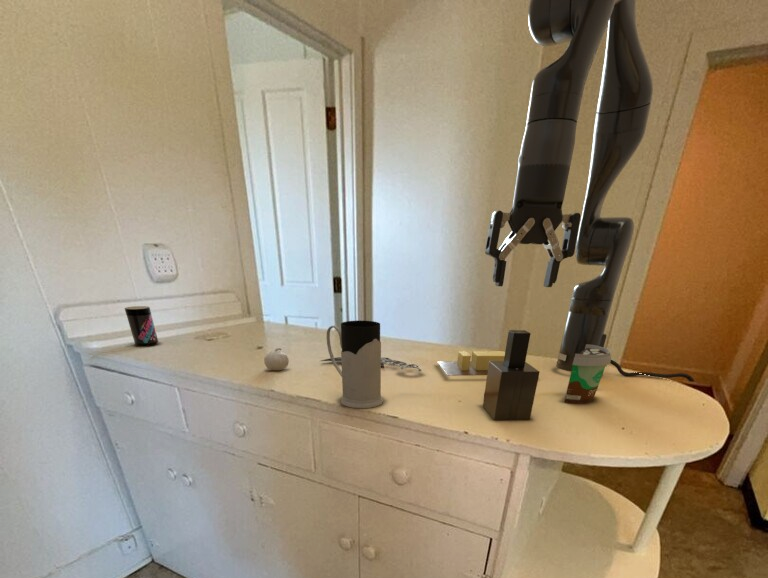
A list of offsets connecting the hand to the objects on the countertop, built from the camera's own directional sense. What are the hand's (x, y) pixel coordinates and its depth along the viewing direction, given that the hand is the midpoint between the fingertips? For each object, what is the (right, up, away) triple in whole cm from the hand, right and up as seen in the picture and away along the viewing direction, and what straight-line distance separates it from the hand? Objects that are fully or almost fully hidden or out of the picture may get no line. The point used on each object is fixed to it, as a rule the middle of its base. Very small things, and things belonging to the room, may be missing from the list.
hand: (523, 286), depth 72 cm
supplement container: (-97, +13, +59) cm, 115 cm away
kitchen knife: (0, -19, +11) cm, 22 cm away
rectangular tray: (+2, -3, +37) cm, 37 cm away
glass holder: (-30, -14, +18) cm, 38 cm away
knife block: (0, -19, +11) cm, 22 cm away
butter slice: (-4, -2, +36) cm, 36 cm away
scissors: (-26, 0, +40) cm, 48 cm away
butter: (+4, -1, +36) cm, 37 cm away
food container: (+20, -14, +20) cm, 31 cm away
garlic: (-51, -2, +37) cm, 63 cm away
